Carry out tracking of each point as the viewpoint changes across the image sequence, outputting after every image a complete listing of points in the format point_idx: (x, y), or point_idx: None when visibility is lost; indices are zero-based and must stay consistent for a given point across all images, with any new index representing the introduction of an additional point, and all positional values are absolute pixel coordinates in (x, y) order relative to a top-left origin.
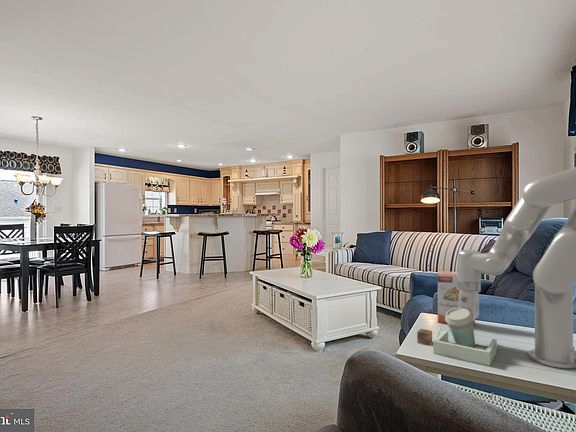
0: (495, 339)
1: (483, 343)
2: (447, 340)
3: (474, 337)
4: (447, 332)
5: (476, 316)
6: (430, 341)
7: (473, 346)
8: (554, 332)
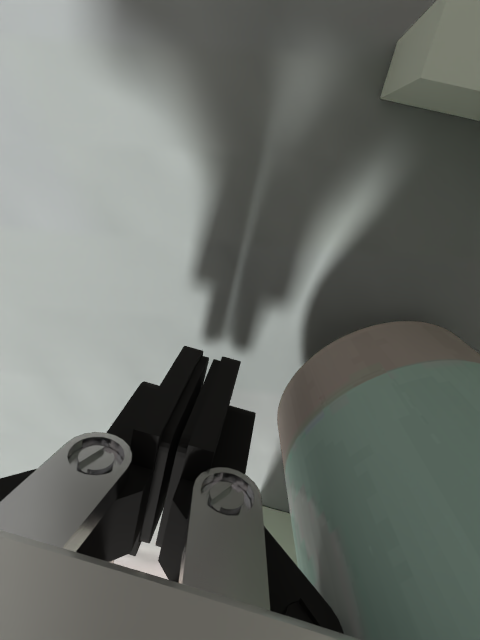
0: (455, 15)
1: (141, 195)
2: (282, 528)
3: (476, 388)
4: None
5: (52, 619)
6: None
7: (464, 342)
8: None
